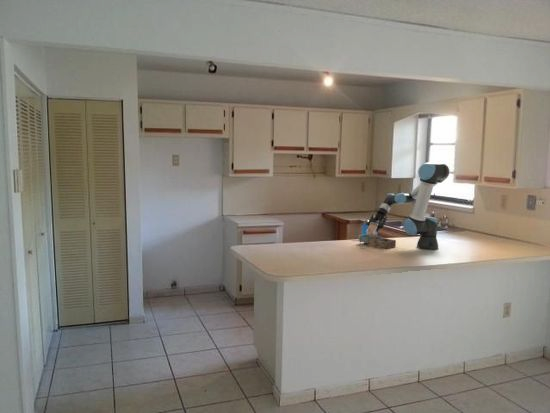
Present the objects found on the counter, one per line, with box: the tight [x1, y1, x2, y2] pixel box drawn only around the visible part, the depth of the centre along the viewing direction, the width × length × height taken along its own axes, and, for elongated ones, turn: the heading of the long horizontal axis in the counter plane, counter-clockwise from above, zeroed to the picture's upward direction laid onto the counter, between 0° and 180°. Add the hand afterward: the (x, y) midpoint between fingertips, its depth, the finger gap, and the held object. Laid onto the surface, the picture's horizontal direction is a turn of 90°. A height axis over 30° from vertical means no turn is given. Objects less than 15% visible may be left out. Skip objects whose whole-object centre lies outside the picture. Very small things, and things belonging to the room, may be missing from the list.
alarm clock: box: [360, 219, 379, 235], centre depth 375 cm, size 13×6×15 cm, turn 113°
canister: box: [369, 221, 378, 239], centre depth 346 cm, size 6×6×12 cm
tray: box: [358, 234, 387, 244], centre depth 347 cm, size 16×13×5 cm
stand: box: [366, 238, 397, 250], centre depth 342 cm, size 15×14×5 cm
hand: (370, 233), depth 344 cm, fingers closed on canister, 5 cm apart
